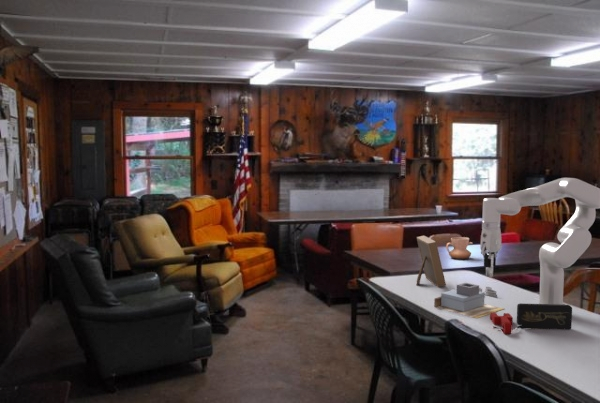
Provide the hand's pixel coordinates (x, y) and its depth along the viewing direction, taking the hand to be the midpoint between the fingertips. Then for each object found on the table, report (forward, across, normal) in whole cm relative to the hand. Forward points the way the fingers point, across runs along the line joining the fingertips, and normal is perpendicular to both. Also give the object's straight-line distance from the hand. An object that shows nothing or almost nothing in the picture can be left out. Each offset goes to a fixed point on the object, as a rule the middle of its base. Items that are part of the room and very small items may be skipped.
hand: (489, 266), depth 234 cm
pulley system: (+22, +22, +18) cm, 36 cm away
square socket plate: (+20, -4, +10) cm, 22 cm away
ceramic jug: (+21, +100, +84) cm, 132 cm away
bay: (+21, -4, +7) cm, 23 cm away
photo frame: (+22, +25, +54) cm, 63 cm away
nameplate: (+22, -2, -26) cm, 34 cm away
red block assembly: (+22, -15, -16) cm, 31 cm away
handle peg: (+4, 0, 0) cm, 4 cm away
